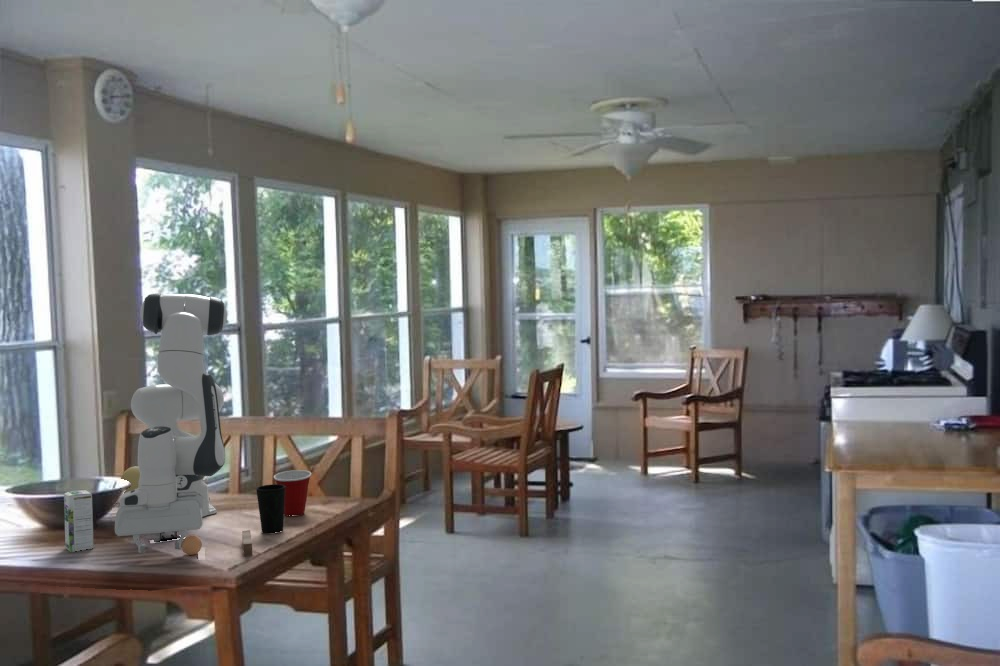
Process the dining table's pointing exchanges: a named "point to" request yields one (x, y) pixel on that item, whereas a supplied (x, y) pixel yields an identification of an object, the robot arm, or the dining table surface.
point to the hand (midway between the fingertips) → (160, 550)
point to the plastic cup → (294, 490)
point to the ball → (191, 545)
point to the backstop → (247, 543)
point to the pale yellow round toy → (132, 477)
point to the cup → (271, 507)
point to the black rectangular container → (166, 537)
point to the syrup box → (78, 520)
